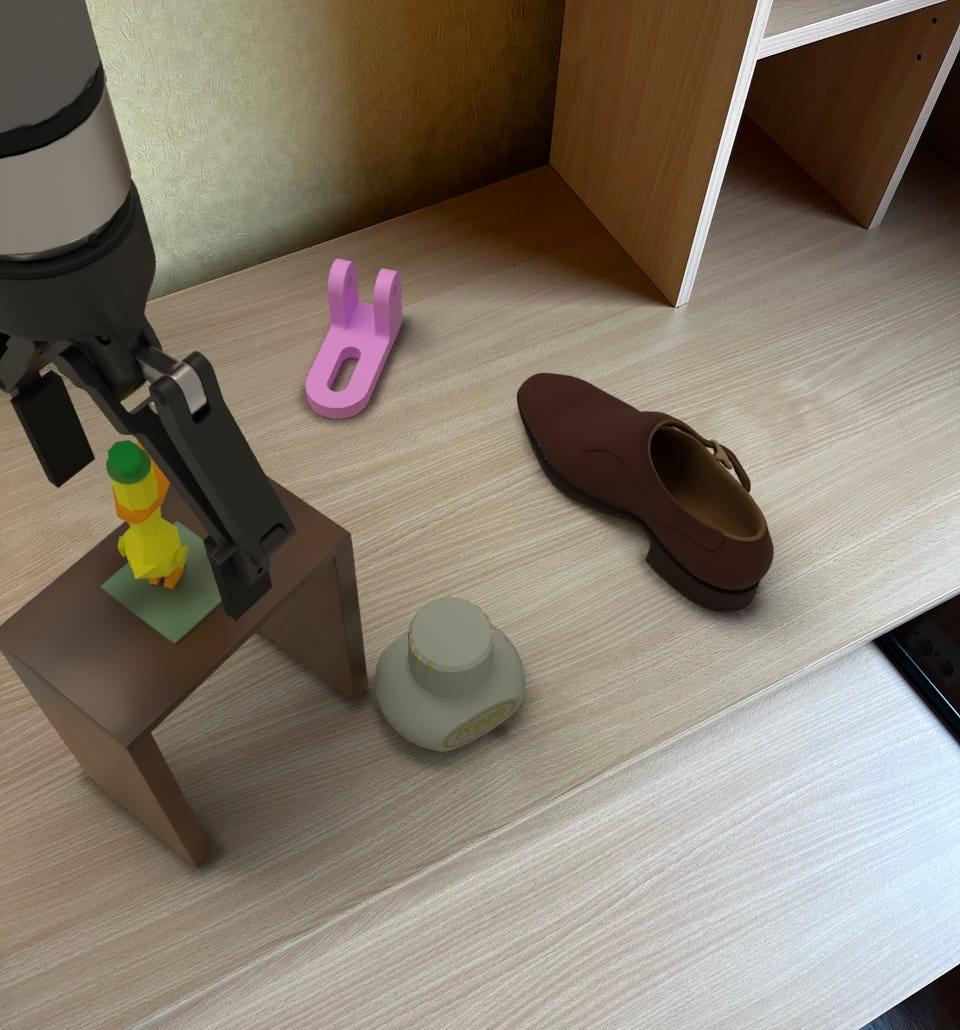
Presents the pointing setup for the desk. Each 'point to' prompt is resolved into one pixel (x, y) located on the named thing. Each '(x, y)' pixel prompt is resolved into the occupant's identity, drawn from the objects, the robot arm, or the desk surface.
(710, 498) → the dress shoe
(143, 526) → the toy figure
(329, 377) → the bracket
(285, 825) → the desk surface
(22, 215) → the robot arm
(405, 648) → the air freshener
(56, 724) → the shelf
